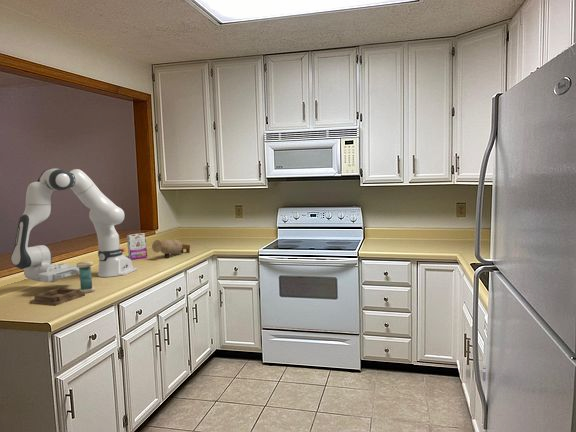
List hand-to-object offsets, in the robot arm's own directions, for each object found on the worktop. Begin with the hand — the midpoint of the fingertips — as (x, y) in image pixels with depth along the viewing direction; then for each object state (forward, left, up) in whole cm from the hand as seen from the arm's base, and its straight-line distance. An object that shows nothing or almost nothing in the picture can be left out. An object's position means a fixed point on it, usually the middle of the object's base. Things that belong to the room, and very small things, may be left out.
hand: (71, 274), depth 221 cm
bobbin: (0, +9, -8) cm, 12 cm away
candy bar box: (-76, -25, -8) cm, 80 cm away
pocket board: (+14, +6, -8) cm, 17 cm away
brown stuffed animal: (-87, -5, -8) cm, 87 cm away
